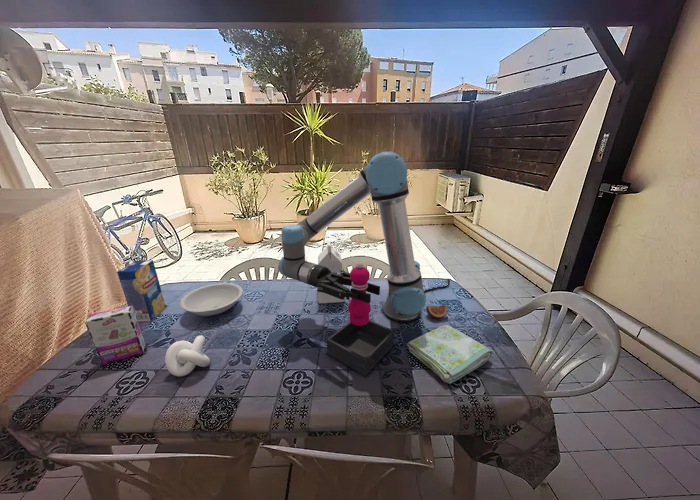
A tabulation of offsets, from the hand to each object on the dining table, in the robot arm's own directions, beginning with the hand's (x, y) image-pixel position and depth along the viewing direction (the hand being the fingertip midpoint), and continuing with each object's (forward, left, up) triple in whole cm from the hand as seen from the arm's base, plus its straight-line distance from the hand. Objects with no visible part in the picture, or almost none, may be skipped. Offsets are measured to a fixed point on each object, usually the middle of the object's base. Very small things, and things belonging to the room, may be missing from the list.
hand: (374, 294), depth 80 cm
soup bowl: (+42, -59, -24) cm, 76 cm away
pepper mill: (+2, -5, -11) cm, 12 cm away
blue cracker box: (+66, -69, -24) cm, 98 cm away
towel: (-22, +11, -24) cm, 35 cm away
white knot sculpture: (+51, -27, -24) cm, 62 cm away
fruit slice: (-36, -7, -24) cm, 44 cm away
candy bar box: (+71, -44, -24) cm, 87 cm away
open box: (+1, -6, -24) cm, 25 cm away
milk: (-6, -44, -24) cm, 50 cm away
